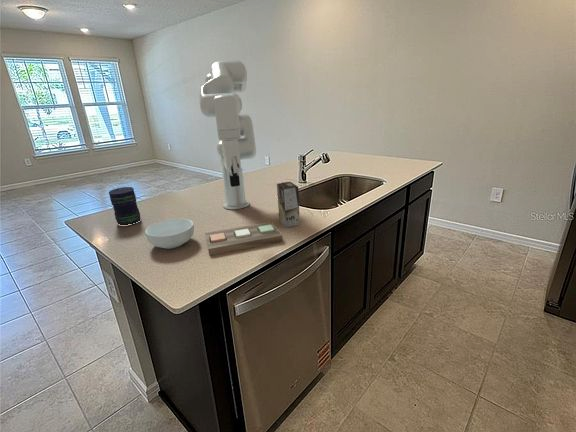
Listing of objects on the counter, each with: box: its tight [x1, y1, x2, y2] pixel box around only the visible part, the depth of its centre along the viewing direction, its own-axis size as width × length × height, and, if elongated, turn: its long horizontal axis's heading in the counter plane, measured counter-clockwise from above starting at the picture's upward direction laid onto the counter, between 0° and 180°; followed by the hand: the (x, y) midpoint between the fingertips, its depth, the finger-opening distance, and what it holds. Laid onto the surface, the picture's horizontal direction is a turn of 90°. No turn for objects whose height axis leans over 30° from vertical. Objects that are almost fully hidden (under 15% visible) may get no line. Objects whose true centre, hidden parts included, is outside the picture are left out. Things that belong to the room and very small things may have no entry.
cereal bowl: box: [144, 218, 195, 250], centre depth 115 cm, size 17×17×7 cm
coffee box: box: [276, 181, 301, 228], centre depth 126 cm, size 9×6×16 cm
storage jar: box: [108, 186, 142, 225], centre depth 136 cm, size 10×10×15 cm
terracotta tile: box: [210, 233, 226, 243], centre depth 112 cm, size 5×5×3 cm
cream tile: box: [235, 229, 251, 239], centre depth 115 cm, size 5×5×3 cm
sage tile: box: [258, 225, 274, 234], centre depth 117 cm, size 5×5×3 cm
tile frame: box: [204, 221, 283, 256], centre depth 115 cm, size 14×26×2 cm, turn 108°
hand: (235, 185), depth 113 cm, fingers closed
